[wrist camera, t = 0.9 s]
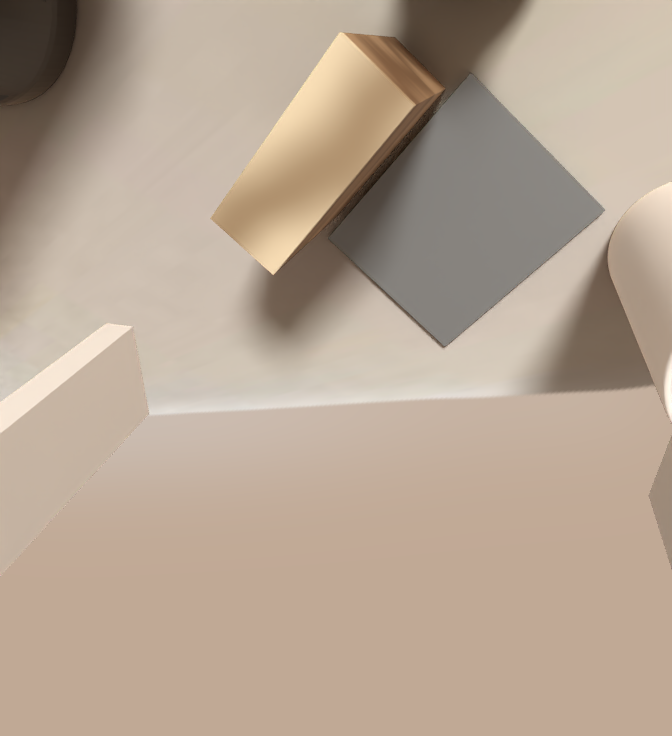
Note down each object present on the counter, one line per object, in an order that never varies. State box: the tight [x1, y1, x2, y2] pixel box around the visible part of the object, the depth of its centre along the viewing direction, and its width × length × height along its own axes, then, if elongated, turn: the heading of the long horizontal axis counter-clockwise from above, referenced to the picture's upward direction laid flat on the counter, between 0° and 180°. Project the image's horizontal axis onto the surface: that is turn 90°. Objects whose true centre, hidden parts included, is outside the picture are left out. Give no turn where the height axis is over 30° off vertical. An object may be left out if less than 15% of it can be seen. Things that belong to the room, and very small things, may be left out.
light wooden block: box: [210, 32, 446, 275], centre depth 30 cm, size 4×10×12 cm, turn 140°
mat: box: [328, 73, 605, 347], centre depth 36 cm, size 11×13×1 cm
